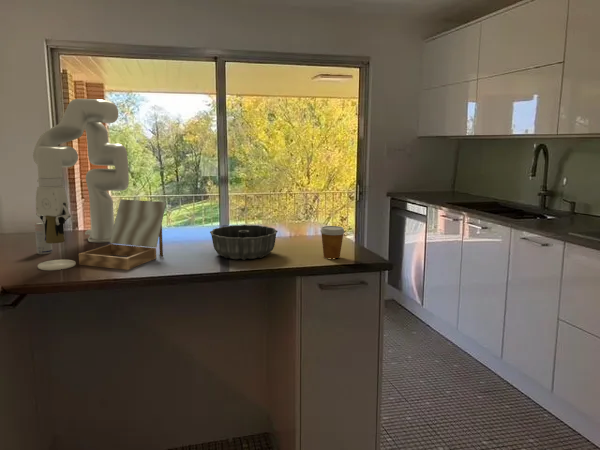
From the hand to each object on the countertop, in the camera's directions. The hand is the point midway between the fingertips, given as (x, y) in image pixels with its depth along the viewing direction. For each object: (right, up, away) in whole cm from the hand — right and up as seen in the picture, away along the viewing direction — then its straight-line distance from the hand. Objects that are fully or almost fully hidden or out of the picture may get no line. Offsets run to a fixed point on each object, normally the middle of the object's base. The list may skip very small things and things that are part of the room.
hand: (54, 234), depth 169 cm
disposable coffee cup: (+99, -10, +21) cm, 101 cm away
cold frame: (+20, -9, +14) cm, 26 cm away
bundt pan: (+64, -9, +23) cm, 68 cm away
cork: (0, -3, 0) cm, 3 cm away
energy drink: (-14, -8, +21) cm, 26 cm away
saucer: (0, -11, +2) cm, 11 cm away
